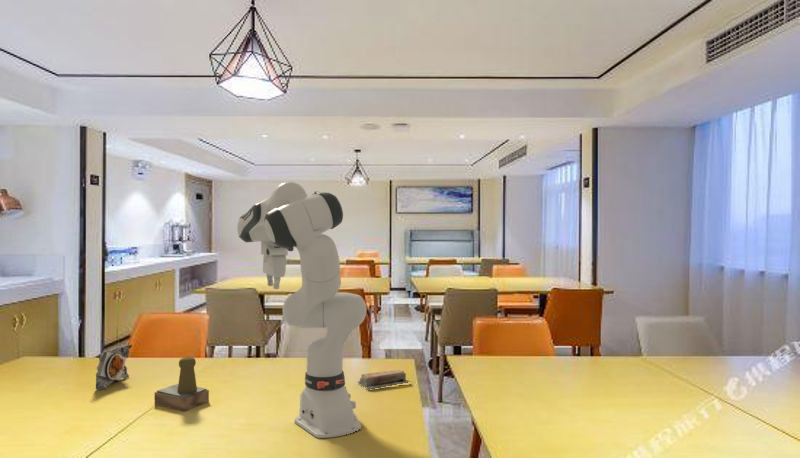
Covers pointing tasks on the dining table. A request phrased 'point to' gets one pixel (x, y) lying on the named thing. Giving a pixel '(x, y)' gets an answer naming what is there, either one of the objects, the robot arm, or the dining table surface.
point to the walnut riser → (181, 398)
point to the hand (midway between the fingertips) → (273, 287)
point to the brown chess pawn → (187, 376)
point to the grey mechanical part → (112, 366)
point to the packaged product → (382, 379)
